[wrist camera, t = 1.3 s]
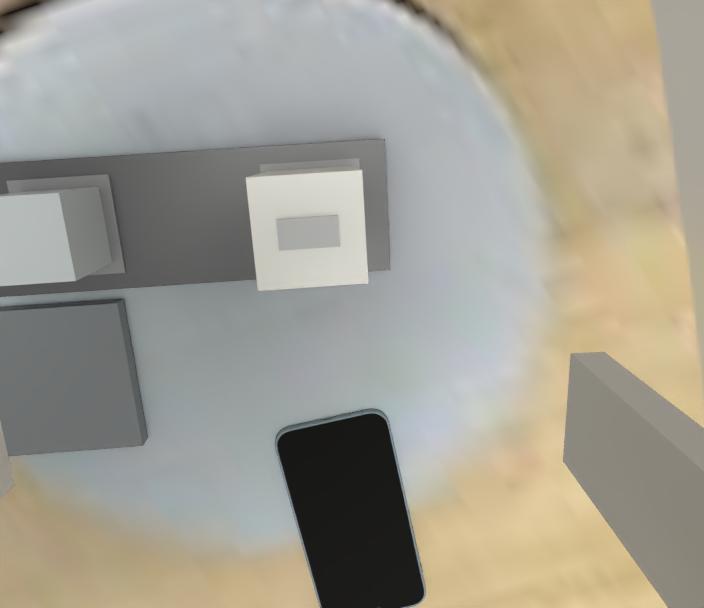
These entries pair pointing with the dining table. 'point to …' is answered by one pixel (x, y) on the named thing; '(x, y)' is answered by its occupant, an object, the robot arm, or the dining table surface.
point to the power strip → (191, 209)
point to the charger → (308, 227)
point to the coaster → (68, 378)
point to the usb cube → (51, 236)
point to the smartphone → (352, 511)
